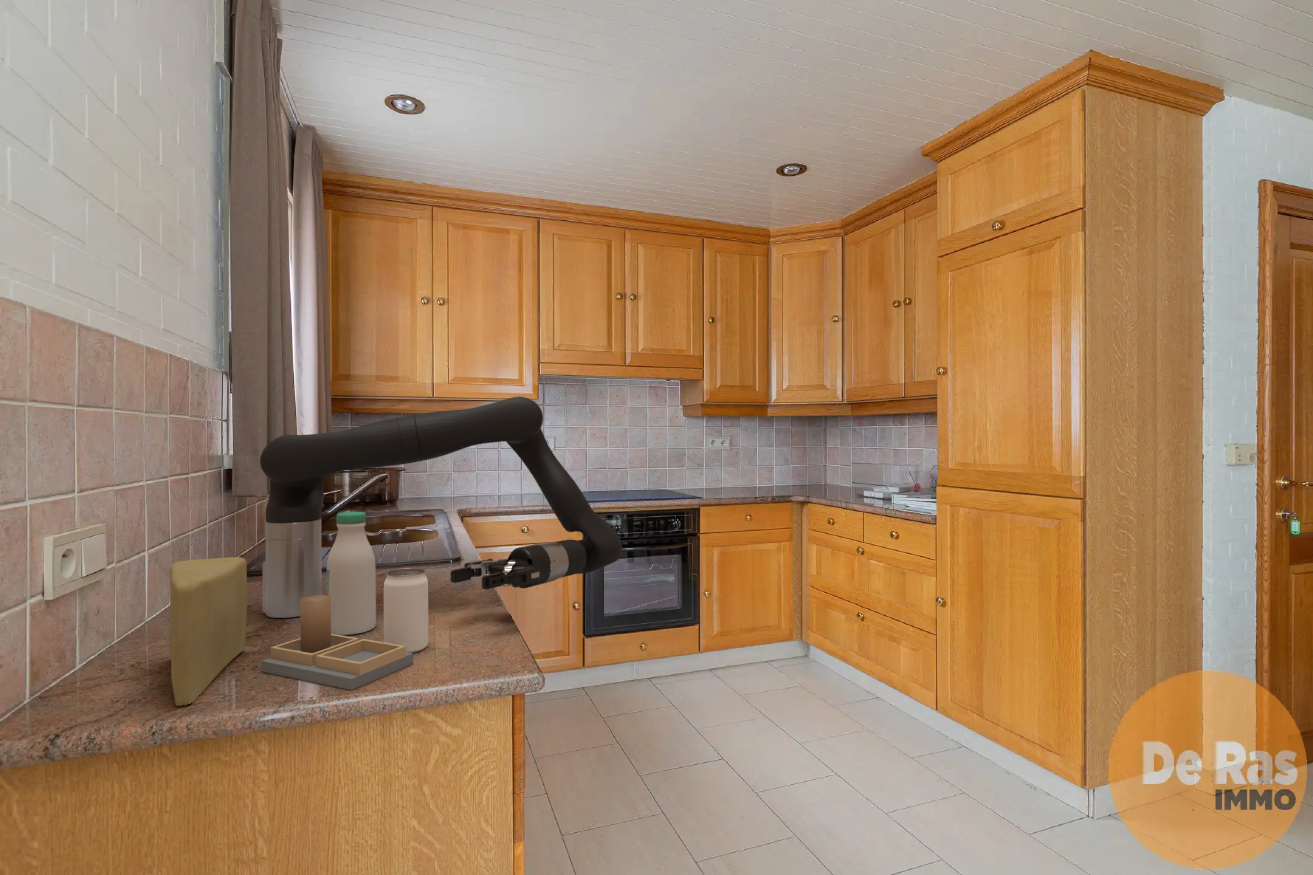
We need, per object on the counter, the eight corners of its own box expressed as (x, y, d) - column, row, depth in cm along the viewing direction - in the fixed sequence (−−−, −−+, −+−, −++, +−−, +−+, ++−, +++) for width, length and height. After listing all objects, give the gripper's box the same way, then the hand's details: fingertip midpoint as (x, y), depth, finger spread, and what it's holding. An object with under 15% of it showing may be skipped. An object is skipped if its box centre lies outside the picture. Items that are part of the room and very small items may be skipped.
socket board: (261, 671, 95) (261, 604, 94) (327, 648, 105) (327, 587, 105) (351, 690, 88) (351, 617, 88) (413, 663, 98) (413, 598, 98)
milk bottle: (385, 625, 117) (385, 511, 117) (352, 638, 110) (352, 516, 110) (350, 621, 120) (350, 509, 120) (315, 633, 112) (315, 514, 112)
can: (413, 656, 101) (413, 576, 101) (374, 653, 102) (374, 575, 102) (436, 643, 107) (435, 568, 107) (399, 640, 109) (399, 566, 109)
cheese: (230, 700, 84) (229, 581, 84) (134, 715, 80) (133, 589, 80) (247, 649, 104) (247, 553, 104) (171, 659, 100) (171, 558, 100)
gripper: (513, 540, 131) (441, 553, 118) (565, 547, 122) (493, 562, 109) (513, 579, 131) (442, 596, 118) (565, 588, 122) (494, 608, 109)
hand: (467, 579), depth 114 cm, fingers open, 8 cm apart
